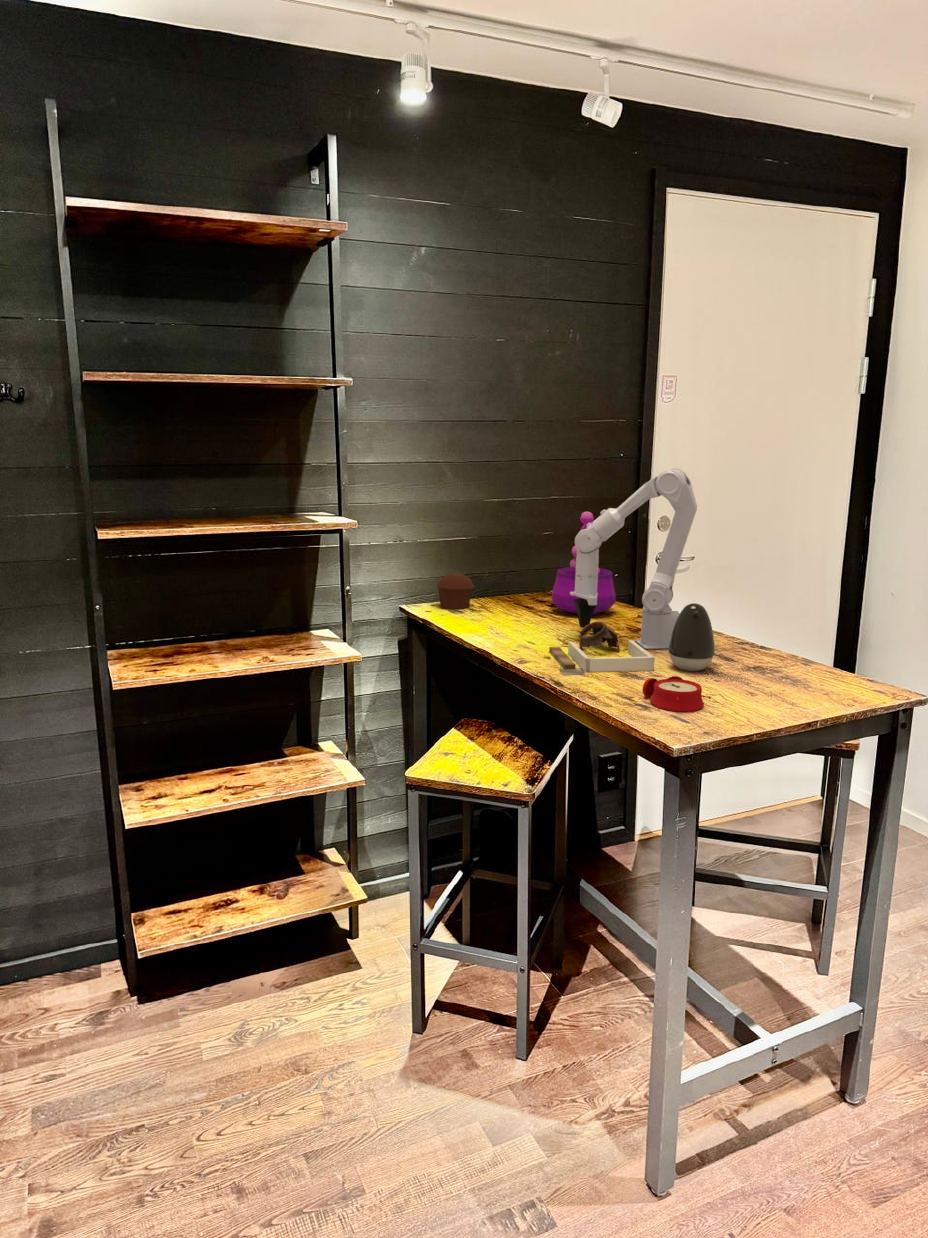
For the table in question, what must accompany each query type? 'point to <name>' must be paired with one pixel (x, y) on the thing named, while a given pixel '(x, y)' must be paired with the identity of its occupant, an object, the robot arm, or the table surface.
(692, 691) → the alarm clock
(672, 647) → the black egg shaped dome
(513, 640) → the table surface
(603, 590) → the decorative plant
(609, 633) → the brown hollow round piece
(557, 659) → the walnut scraper
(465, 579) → the muffin
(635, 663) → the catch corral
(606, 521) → the robot arm
